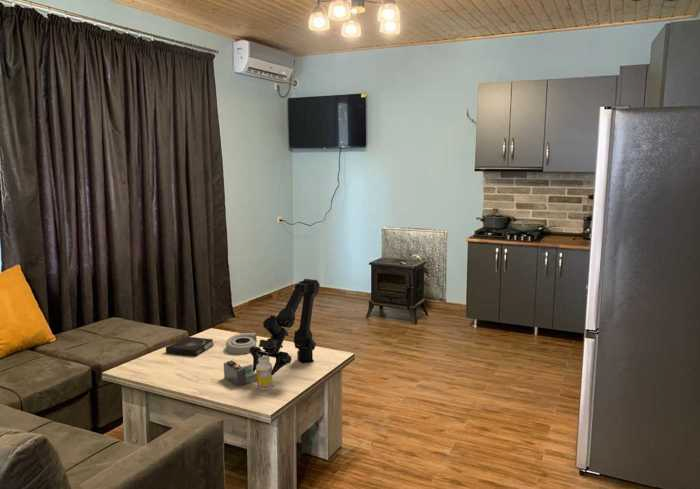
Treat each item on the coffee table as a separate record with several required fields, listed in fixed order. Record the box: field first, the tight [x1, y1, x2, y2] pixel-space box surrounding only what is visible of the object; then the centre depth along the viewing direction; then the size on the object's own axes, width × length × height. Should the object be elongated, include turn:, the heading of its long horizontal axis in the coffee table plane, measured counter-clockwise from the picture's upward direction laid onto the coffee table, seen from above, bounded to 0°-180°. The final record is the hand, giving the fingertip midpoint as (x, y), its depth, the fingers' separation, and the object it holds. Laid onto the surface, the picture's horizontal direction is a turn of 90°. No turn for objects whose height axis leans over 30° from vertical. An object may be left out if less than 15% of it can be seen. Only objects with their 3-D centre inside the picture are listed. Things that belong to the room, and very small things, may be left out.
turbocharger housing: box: [225, 332, 258, 355], centre depth 275 cm, size 17×6×15 cm
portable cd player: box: [165, 336, 215, 358], centre depth 274 cm, size 16×17×4 cm
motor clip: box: [223, 360, 257, 387], centre depth 238 cm, size 14×12×8 cm
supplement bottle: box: [255, 356, 273, 391], centre depth 228 cm, size 7×7×13 cm
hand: (262, 373), depth 227 cm, fingers open, 9 cm apart
